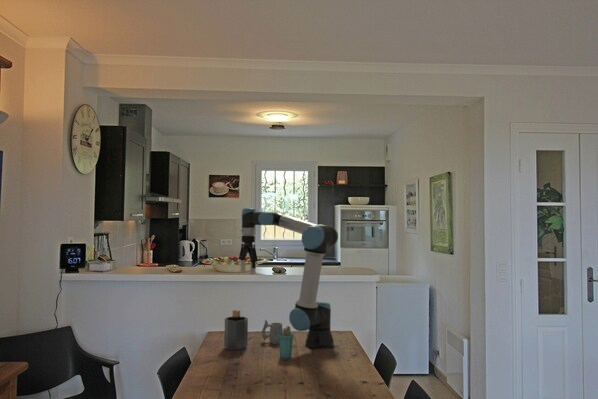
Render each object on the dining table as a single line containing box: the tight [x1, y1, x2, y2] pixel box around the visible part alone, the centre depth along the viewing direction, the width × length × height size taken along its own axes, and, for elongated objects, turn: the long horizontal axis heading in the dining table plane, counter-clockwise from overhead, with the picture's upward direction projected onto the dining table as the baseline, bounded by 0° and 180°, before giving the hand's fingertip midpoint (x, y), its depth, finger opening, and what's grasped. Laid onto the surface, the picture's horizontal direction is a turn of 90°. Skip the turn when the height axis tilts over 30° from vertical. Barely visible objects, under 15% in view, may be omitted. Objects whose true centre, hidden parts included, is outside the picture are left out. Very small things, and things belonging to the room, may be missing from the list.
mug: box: [261, 319, 284, 345], centre depth 255 cm, size 8×12×12 cm, turn 98°
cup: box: [278, 325, 295, 359], centre depth 226 cm, size 14×8×15 cm, turn 174°
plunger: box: [232, 309, 241, 321], centre depth 243 cm, size 6×6×17 cm
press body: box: [223, 316, 249, 351], centre depth 244 cm, size 15×11×15 cm
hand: (247, 272), depth 264 cm, fingers open, 13 cm apart
